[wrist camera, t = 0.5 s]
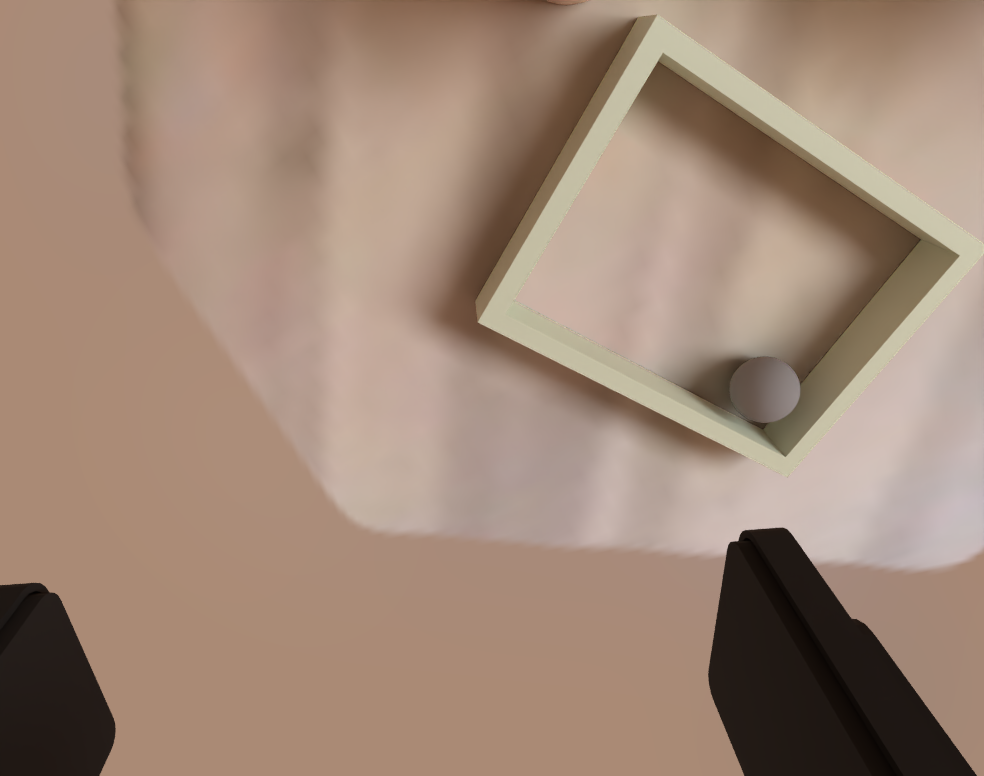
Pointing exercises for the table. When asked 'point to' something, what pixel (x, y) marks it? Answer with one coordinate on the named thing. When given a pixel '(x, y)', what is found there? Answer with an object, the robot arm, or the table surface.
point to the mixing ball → (764, 389)
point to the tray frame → (942, 241)
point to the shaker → (567, 1)
